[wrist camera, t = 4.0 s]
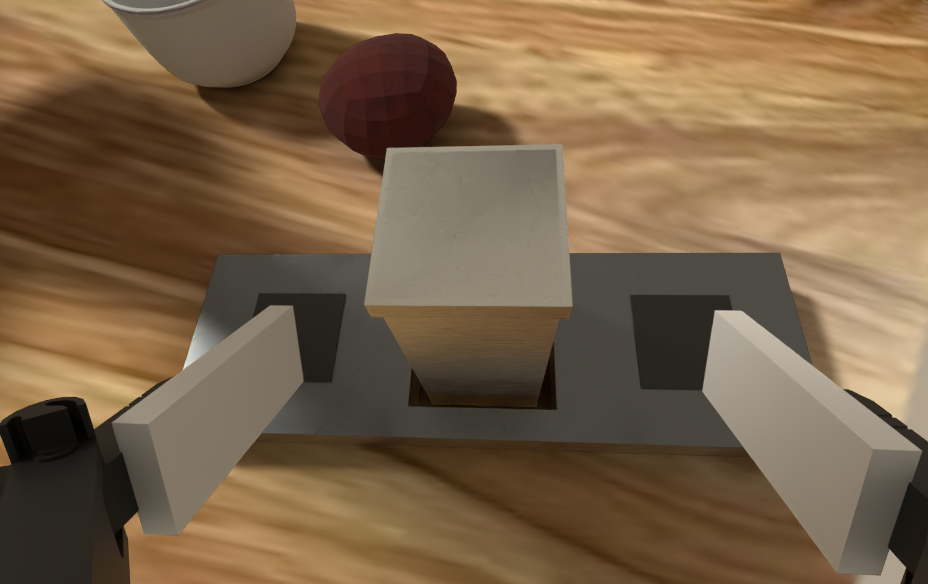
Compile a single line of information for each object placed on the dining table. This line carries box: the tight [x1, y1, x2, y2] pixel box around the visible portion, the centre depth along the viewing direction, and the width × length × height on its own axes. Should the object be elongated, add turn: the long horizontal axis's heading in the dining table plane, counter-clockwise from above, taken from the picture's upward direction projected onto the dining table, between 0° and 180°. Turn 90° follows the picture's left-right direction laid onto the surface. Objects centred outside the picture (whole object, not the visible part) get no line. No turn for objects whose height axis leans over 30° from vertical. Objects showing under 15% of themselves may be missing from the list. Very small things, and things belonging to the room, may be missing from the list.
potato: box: [318, 33, 457, 159], centre depth 29 cm, size 7×8×6 cm
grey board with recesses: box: [183, 253, 812, 457], centre depth 23 cm, size 28×9×3 cm, turn 88°
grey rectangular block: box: [364, 144, 573, 407], centre depth 19 cm, size 5×5×12 cm
